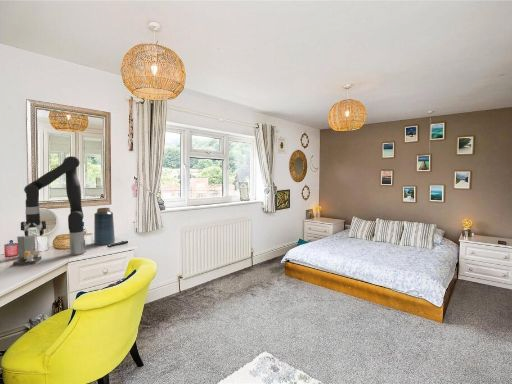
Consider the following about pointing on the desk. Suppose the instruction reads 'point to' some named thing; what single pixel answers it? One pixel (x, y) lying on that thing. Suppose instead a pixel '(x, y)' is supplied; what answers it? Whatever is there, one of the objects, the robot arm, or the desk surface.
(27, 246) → the skincare box
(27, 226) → the robot arm
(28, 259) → the panel
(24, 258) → the orange rectangular block
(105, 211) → the blue lidded jar
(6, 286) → the desk surface
